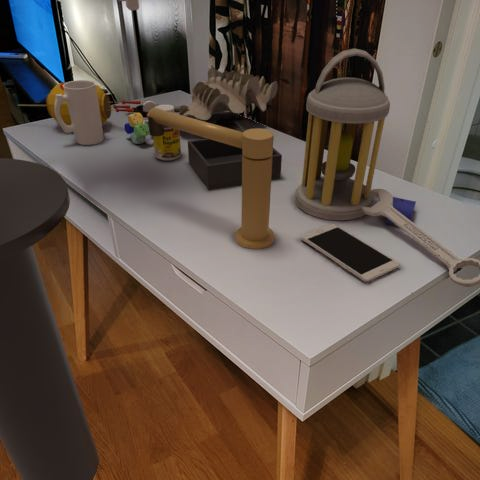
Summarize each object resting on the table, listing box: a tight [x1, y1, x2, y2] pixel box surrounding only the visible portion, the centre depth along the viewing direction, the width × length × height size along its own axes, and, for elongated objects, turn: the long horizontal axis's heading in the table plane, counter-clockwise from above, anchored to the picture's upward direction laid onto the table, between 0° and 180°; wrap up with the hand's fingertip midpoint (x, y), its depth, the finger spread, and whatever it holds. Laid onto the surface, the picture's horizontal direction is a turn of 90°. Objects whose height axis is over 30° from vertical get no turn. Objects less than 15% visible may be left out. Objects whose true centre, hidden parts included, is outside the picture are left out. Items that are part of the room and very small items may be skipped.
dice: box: [123, 112, 150, 145], centre depth 109 cm, size 8×3×6 cm, turn 36°
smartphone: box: [300, 223, 401, 283], centre depth 76 cm, size 8×1×15 cm
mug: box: [54, 79, 105, 146], centre depth 107 cm, size 10×7×12 cm, turn 130°
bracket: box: [382, 196, 417, 226], centre depth 85 cm, size 9×5×3 cm, turn 158°
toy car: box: [213, 116, 257, 132], centre depth 114 cm, size 6×12×4 cm, turn 37°
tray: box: [187, 138, 283, 191], centre depth 98 cm, size 15×13×5 cm
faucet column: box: [234, 155, 275, 250], centre depth 75 cm, size 6×6×14 cm
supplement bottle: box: [152, 104, 182, 161], centre depth 102 cm, size 6×6×10 cm
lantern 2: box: [17, 81, 142, 127], centre depth 115 cm, size 10×10×30 cm
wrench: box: [361, 188, 480, 288], centre depth 77 cm, size 26×6×2 cm, turn 30°
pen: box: [128, 105, 182, 114], centre depth 126 cm, size 1×16×1 cm, turn 102°
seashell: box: [178, 68, 279, 121], centre depth 117 cm, size 28×18×15 cm, turn 132°
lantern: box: [294, 48, 391, 221], centre depth 81 cm, size 14×14×25 cm
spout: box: [147, 108, 275, 159], centre depth 75 cm, size 24×4×5 cm, turn 53°
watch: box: [135, 100, 159, 119], centre depth 124 cm, size 8×5×4 cm, turn 108°
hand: (127, 4), depth 81 cm, fingers open, 8 cm apart
